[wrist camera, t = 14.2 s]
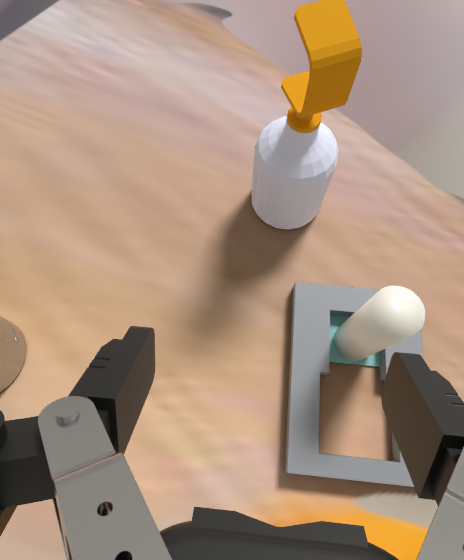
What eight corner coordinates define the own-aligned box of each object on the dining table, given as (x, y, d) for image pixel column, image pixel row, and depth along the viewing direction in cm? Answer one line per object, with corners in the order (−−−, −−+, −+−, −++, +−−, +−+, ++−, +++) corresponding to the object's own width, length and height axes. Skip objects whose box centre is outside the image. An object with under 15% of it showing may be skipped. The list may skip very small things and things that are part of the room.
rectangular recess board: (423, 486, 39) (433, 489, 37) (284, 470, 39) (287, 472, 38) (410, 298, 46) (418, 292, 44) (293, 287, 46) (295, 281, 45)
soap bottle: (302, 164, 53) (354, -38, 30) (331, 218, 50) (413, 40, 27) (241, 183, 52) (246, -10, 29) (267, 240, 49) (296, 74, 26)
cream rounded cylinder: (353, 369, 43) (400, 348, 31) (325, 339, 44) (359, 307, 32) (380, 343, 44) (436, 314, 32) (352, 315, 45) (396, 275, 33)
